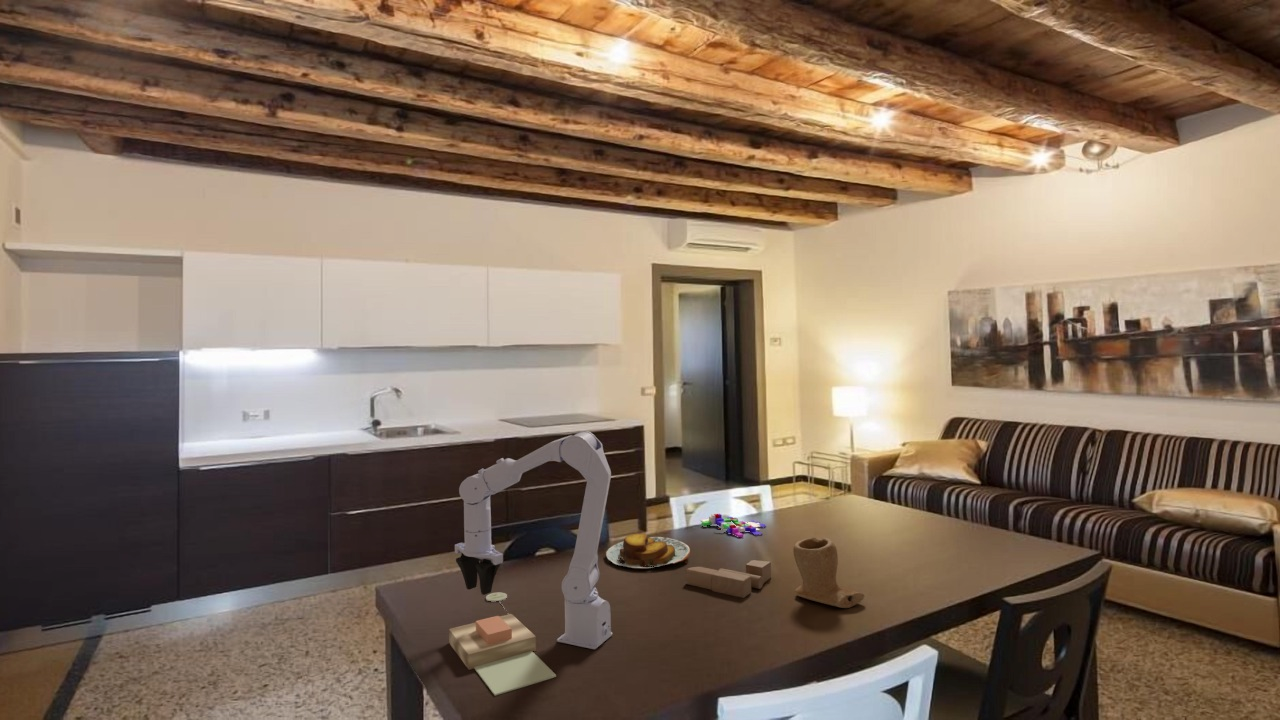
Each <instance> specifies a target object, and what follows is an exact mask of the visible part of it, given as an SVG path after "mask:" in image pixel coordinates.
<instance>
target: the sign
mask: <svg viewBox="0 0 1280 720" xmlns="http://www.w3.org/2000/svg"><path fill="white" fill-rule="evenodd" d="M506 598H507V599H508V594H507V593H505V592H500V591H499V592H490V593H488V594H486V596H485V601H486V602H488V601H491V602H490V603H497V602H496V601H499V602H498V603H499V605H500V604H501V603H502V602H503V601H505V600H507V599H506ZM502 600H503V601H502ZM501 605H502V606H503V607H502V606H501ZM501 605H500V606H501V607H502V609H503V608H504V609H503V610H504V611H505V609H506V608H505V607H504V605H503V603H502V604H501ZM509 614H510V613H509V612H508V613H506V615H509Z"/></svg>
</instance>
